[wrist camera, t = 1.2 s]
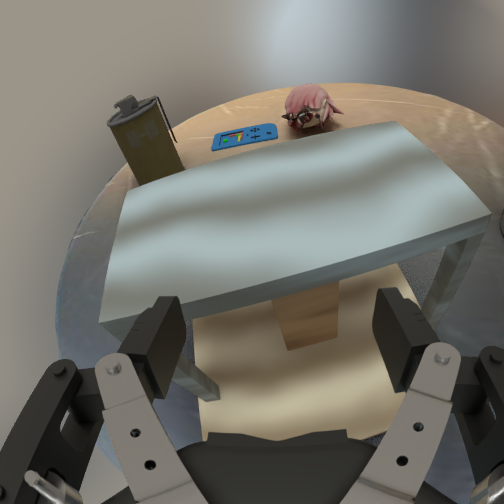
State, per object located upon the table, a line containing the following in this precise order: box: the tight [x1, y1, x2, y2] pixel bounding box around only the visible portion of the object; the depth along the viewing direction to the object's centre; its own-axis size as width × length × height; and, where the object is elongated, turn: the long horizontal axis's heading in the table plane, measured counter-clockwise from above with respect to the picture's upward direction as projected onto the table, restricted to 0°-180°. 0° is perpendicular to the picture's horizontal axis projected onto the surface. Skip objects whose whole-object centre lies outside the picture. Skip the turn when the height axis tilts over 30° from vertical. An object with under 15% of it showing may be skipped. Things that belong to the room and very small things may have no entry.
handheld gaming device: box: [211, 123, 278, 151], centre depth 65 cm, size 8×1×15 cm
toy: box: [281, 84, 344, 133], centre depth 57 cm, size 12×11×15 cm
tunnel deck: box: [99, 121, 492, 441], centre depth 25 cm, size 28×24×20 cm
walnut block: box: [271, 281, 339, 351], centre depth 25 cm, size 5×5×11 cm
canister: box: [107, 95, 186, 186], centre depth 53 cm, size 11×10×20 cm
